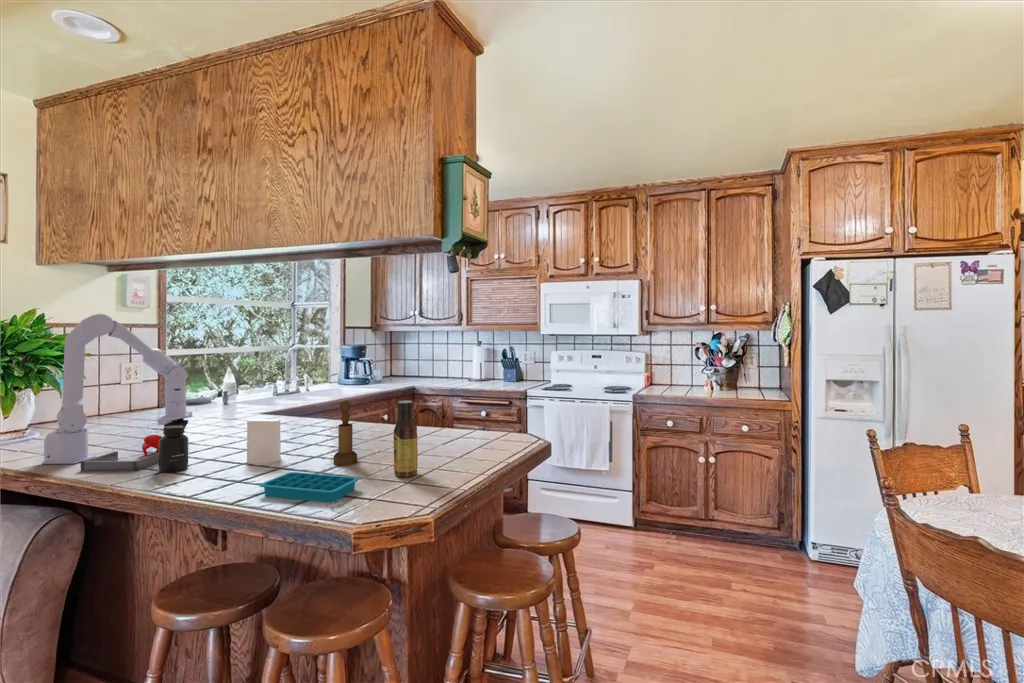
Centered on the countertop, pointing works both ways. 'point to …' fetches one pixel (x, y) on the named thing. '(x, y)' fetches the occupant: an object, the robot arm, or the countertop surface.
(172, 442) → the supplement bottle
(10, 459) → the countertop surface
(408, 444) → the sauce bottle
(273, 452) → the cream upright block
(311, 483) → the ice cube tray
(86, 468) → the tray
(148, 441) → the red curved piece
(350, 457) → the brown wooden pepper mill
